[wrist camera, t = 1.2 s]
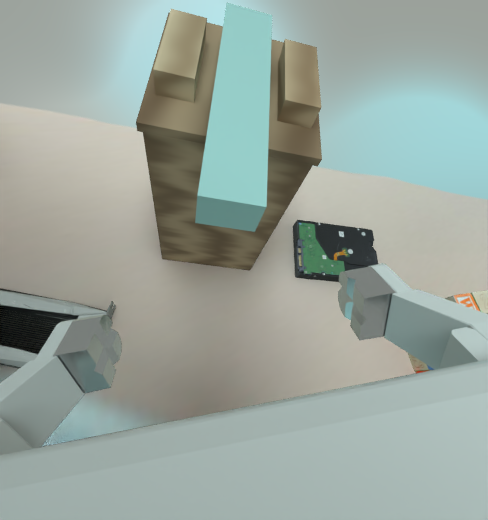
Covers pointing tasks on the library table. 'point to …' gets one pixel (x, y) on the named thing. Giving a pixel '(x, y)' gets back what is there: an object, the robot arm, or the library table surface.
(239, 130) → the batten
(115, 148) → the library table surface
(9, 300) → the graphics card
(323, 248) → the disk drive
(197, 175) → the brown tall textured block
